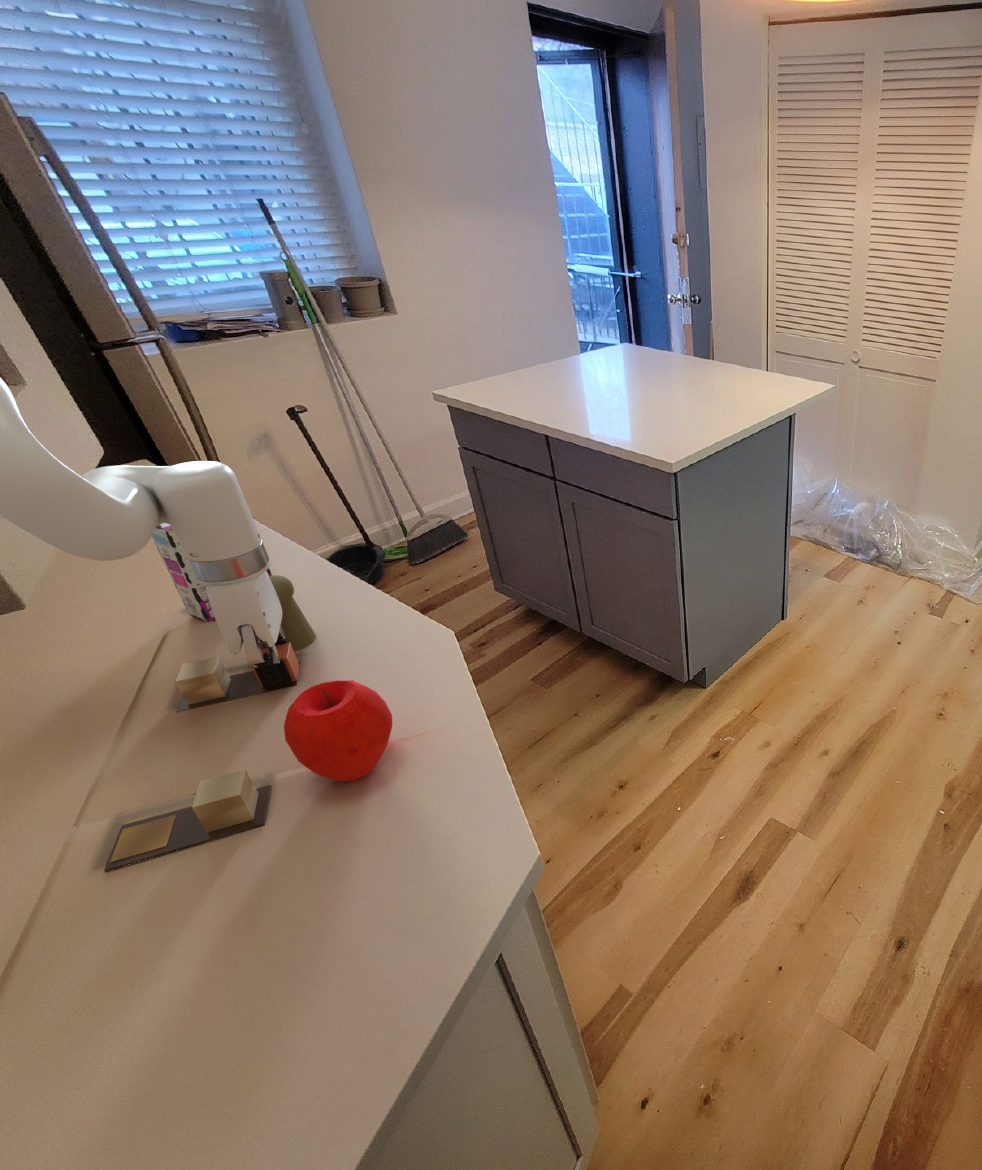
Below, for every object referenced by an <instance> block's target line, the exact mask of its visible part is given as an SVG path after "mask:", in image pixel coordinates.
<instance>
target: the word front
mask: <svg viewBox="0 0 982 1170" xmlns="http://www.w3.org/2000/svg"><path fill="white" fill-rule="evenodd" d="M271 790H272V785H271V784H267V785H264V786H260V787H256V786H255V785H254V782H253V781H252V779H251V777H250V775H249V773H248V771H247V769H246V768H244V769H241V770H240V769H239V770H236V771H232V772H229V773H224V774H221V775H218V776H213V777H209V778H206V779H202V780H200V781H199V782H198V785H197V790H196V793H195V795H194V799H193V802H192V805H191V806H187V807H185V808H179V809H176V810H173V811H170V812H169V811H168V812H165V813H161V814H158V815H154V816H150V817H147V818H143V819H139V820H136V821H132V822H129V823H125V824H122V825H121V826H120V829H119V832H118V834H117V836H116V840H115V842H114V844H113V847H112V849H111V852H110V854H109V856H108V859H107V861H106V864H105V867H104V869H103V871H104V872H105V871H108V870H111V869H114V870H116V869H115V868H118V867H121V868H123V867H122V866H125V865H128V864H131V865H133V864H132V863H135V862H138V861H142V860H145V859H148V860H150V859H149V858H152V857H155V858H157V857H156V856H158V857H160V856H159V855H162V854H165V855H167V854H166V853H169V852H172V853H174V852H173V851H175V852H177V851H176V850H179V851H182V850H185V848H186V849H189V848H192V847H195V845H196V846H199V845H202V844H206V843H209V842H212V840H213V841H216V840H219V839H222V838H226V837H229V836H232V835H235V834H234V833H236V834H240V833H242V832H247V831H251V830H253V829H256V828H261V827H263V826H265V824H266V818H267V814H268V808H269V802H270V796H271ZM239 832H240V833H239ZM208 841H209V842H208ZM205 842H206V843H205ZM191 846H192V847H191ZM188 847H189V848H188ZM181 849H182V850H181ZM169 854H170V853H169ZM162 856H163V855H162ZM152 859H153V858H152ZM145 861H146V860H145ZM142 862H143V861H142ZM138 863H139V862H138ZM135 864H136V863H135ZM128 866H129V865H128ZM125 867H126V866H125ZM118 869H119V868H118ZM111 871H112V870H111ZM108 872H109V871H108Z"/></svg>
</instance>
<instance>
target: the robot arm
mask: <svg viewBox="0 0 982 1170" xmlns="http://www.w3.org/2000/svg"><path fill="white" fill-rule="evenodd" d="M17 404H18V403H17V401H16V399H15V397H14V395H13V393H12V391H11V389H10V388H9V386H8V385H7V383H6V381H4V380H3V378H2V377H1V376H0V517H1V518H3V519H4V520H6V521H7V522H9V523H11V524H13V525H14V526H16V527H18V528H19V529H22V530H23V531H25V532H27V533H29V534H30V535H32V536H34V537H36V538H37V539H39V540H41V541H43V542H44V543H46V544H49V545H50V546H52V547H54V548H56V549H58V550H61V551H62V552H65V553H68V554H70V555H72V556H73V555H74V556H75V557H79V558H82V559H86V560H92V561H99V562H104V561H105V562H108V561H109V562H112V561H119V560H123V559H126V558H129V557H132V556H134V555H136V554H137V553H139V552H140V551H141V550H143V549H144V548H145V547H146V546H147V544H148V543H149V541H150V540H151V538H152V534H153V532H154V530H155V528H156V527H157V526H159V525H160V524H162V523H167V524H169V525H170V526H171V528H172V530H173V532H174V534H175V536H176V538H177V540H178V542H179V544H180V546H181V548H182V550H183V553H184V555H185V557H186V559H187V561H188V563H189V565H190V567H191V569H192V571H193V573H194V575H195V577H196V580H197V581H198V582H199V583H201V584H204V585H206V591H207V595H208V598H209V602H210V605H211V608H212V611H213V614H214V616H215V621H216V624H217V626H218V629H219V631H220V634H221V636H222V639H223V641H224V644H225V646H226V648H227V650H228V652H229V653H230V654H232V655H237V654H240V653H241V651H242V648H243V645H244V650H245V654H246V658H247V662H248V664H249V665H250V666H251V665H253V667H254V669H255V671H256V673H257V675H258V677H259V679H260V682H261V684H262V686H263V688H264V689H269V688H274V687H278V686H283V685H287V684H291V683H292V678H291V676H290V673H289V671H288V669H287V666H286V664H285V662H284V659H283V658H282V659H280V658H279V655H278V652H277V649H276V645H281V644H286V643H288V641H287V639H286V640H282V639H285V634H284V631H283V629H282V628H281V626H280V625H281V620H282V608H281V604H280V601H279V598H278V596H277V593H276V591H275V589H274V586H273V584H272V582H271V580H270V578H269V575H268V573H267V571H266V570H268V569H270V568H271V565H272V563H271V562H272V561H271V559H270V558H269V555H268V553H267V550H266V547H265V545H264V542H263V540H262V537H261V535H260V532H259V530H258V528H257V526H256V523H255V520H254V518H253V516H252V513H251V511H250V508H249V506H248V503H247V500H246V498H245V496H244V493H243V491H242V488H241V485H240V483H239V480H238V478H237V476H236V474H235V472H234V470H233V469H231V468H230V467H229V466H228V465H226V464H225V463H222V462H219V461H213V460H196V461H195V460H194V461H187V462H186V461H185V462H181V463H176V464H173V465H161V466H160V465H157V466H156V465H107V466H100V467H96V468H93V469H91V470H88V471H87V472H85V473H84V474H83V475H80V474H78V473H77V472H75V471H74V470H73V469H71V468H70V467H68V466H67V465H66V464H64V463H63V462H62V461H60V459H58V458H56V456H54V454H52V453H51V452H50V451H49V450H48V449H47V448H46V447H45V446H44V445H43V444H42V443H41V442H40V441H39V440H38V439H37V438H36V436H35V435H34V434H33V433H32V431H31V430H30V428H29V427H28V425H27V424H26V423H25V421H24V419H23V417H22V415H21V412H20V409H19V406H18V405H17ZM265 648H268V649H269V652H270V654H269V653H262V652H261V649H265Z"/></svg>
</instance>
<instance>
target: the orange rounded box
mask: <svg viewBox="0 0 982 1170" xmlns="http://www.w3.org/2000/svg"><path fill="white" fill-rule="evenodd" d="M276 649H277V652H278V655H279V658H280V659H282V658H283V659H284V662H285V664H286V666H287V669H288V671H289V673H290V676H291V678H292V682H293V681H297V676H298V670H299V663H298V662H299V660H298V657H297V655H296V653H295V651H293V648H292V646H291V643H286V644H281V645H276ZM261 652H262V653H269V654H270V652H269V649H268V648H265V649H261ZM250 666H251V668H252V671H254V672H255V675H256V677H257V679H258V681H259V683H260V685H261V688H263V686H262V684H261V682H260V679H259V677H258V675H257V673H256V671H255V669H254V667H253V665H250Z"/></svg>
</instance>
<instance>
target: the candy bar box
mask: <svg viewBox="0 0 982 1170" xmlns="http://www.w3.org/2000/svg"><path fill="white" fill-rule="evenodd" d="M151 538H152V540H153V542H154V545H155V546H156V549H157V551H158V553H159V555H160V557H161V559H162V562H163V563H164V565H165V567H166V569H167V572H168V573H169V576H170V578H171V580H172V582H173V585H174V586H175V588H176V590H177V592H178V595H179V597H180V599H181V601H182V603H183V605H184V607H185V609H186V611H187V613H188V615H189V616H190V617H193V618H194V619H195V618H196V619H198V620H200V621H202V622H206V623H211V622H213V621H216V619H215V616H214V614H213V611H212V608H211V605H210V602H209V598H208V595H207V591H206V585H204V584H201V583H199V582H198V581H197V580H196V577H195V575H194V573H193V571H192V569H191V567H190V565H189V563H188V561H187V559H186V557H185V555H184V553H183V550H182V548H181V546H180V544H179V542H178V540H177V538H176V536H175V534H174V532H173V530H172V528H171V526H170V525H169V524H167V523H162V524H160V525H159V526H157V527H156V528H155V530H154V532H153V534H152V536H151ZM266 571H267V573H268V575H269V576H273V574H272V571H271V569H270V568H269V569H268V570H266Z"/></svg>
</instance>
